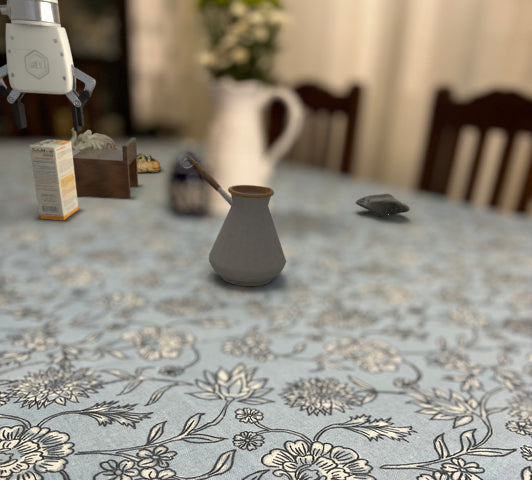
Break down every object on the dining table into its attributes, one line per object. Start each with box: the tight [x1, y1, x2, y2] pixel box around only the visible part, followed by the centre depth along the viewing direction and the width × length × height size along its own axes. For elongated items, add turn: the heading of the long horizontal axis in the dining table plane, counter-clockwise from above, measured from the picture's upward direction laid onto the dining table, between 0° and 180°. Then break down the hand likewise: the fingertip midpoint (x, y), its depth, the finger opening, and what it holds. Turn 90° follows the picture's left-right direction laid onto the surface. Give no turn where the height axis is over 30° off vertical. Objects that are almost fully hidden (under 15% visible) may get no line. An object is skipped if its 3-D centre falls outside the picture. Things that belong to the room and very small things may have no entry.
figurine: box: [69, 127, 119, 152], centre depth 129 cm, size 10×14×15 cm, turn 138°
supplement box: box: [28, 138, 79, 221], centre depth 97 cm, size 8×5×13 cm, turn 178°
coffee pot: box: [181, 155, 287, 287], centre depth 77 cm, size 21×12×15 cm, turn 42°
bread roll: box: [137, 152, 162, 173], centre depth 145 cm, size 11×11×5 cm
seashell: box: [355, 193, 411, 218], centre depth 116 cm, size 12×6×10 cm
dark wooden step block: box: [73, 137, 139, 200], centre depth 118 cm, size 12×14×11 cm
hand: (50, 129), depth 93 cm, fingers open, 9 cm apart
